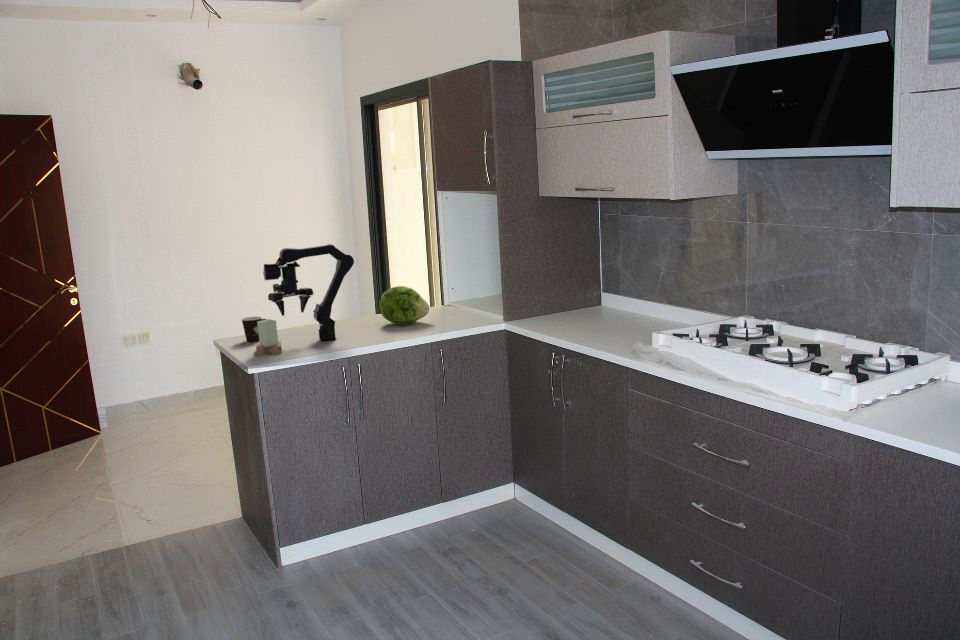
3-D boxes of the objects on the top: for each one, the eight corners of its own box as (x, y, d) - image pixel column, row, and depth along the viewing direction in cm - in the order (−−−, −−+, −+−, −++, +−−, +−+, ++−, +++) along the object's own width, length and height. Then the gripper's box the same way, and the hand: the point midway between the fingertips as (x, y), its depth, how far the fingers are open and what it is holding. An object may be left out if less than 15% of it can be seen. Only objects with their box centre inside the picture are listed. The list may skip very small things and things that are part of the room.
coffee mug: (245, 343, 349) (243, 321, 347) (242, 340, 356) (240, 318, 354) (272, 340, 353) (270, 318, 351) (269, 336, 361) (267, 315, 359)
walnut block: (281, 349, 336) (280, 341, 336) (282, 354, 327) (281, 346, 326) (257, 351, 334) (256, 343, 333) (257, 357, 324) (256, 348, 324)
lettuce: (424, 329, 364) (428, 289, 363) (374, 323, 366) (378, 284, 365) (431, 326, 383) (435, 288, 382) (383, 321, 385) (387, 283, 384)
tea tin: (271, 342, 334) (269, 319, 331) (278, 344, 330) (275, 320, 328) (259, 345, 330) (257, 321, 328) (266, 347, 326) (263, 323, 324)
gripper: (299, 273, 350) (302, 308, 353) (260, 279, 338) (263, 315, 341) (312, 275, 342) (315, 311, 345) (272, 281, 330) (276, 318, 333)
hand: (292, 314), depth 341 cm, fingers open, 9 cm apart
